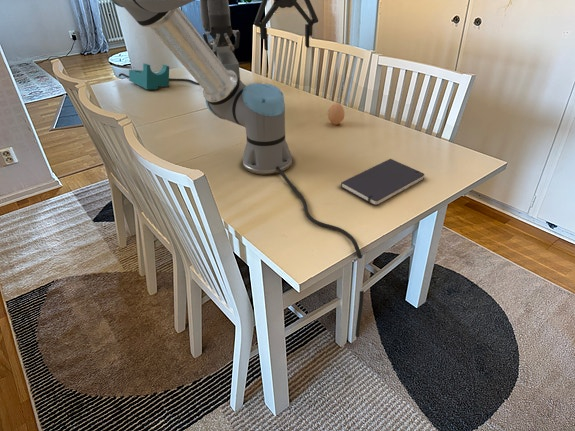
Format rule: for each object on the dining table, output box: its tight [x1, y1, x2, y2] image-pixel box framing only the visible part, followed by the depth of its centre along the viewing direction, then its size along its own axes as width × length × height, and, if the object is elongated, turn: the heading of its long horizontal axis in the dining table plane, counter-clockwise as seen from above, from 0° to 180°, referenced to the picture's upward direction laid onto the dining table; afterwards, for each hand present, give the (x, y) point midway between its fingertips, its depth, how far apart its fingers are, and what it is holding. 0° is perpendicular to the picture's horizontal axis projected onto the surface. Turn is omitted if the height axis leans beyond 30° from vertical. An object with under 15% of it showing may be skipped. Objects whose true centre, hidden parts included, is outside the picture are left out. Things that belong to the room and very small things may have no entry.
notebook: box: [340, 158, 425, 206], centre depth 114 cm, size 13×2×21 cm
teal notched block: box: [128, 63, 170, 90], centre depth 189 cm, size 18×11×10 cm, turn 43°
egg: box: [327, 102, 345, 125], centre depth 147 cm, size 6×6×8 cm
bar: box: [216, 46, 241, 80], centre depth 147 cm, size 25×6×9 cm, turn 14°
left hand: (224, 60), depth 154 cm, fingers closed on bar, 5 cm apart
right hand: (286, 48), depth 132 cm, fingers open, 13 cm apart
